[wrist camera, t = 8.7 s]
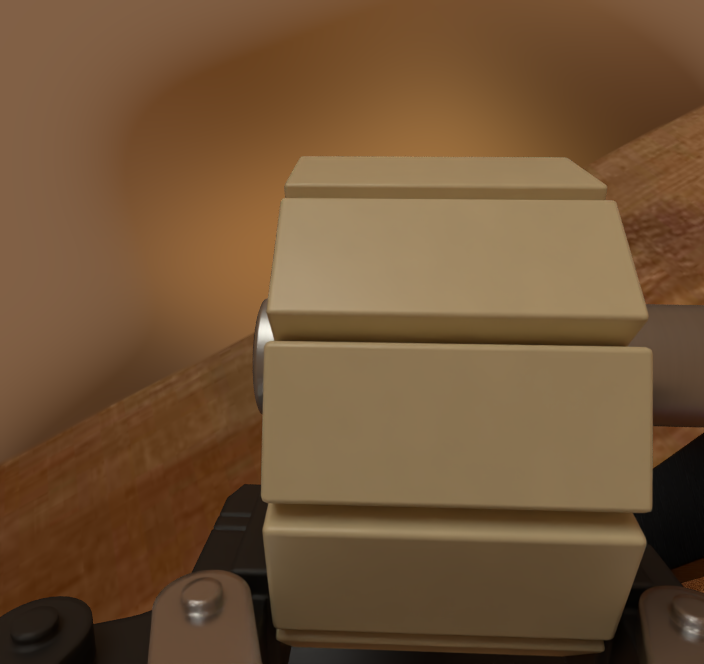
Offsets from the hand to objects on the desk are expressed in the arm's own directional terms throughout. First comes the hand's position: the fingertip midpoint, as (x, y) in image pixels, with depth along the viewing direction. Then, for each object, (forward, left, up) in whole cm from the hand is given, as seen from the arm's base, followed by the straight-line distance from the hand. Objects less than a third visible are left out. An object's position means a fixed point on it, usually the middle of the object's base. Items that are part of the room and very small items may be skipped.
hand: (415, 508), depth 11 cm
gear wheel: (+1, +1, +2) cm, 3 cm away
